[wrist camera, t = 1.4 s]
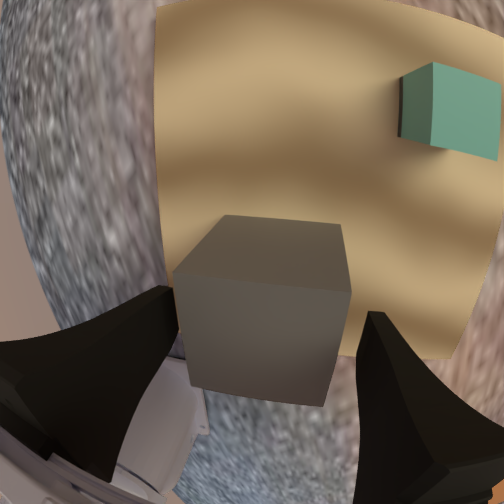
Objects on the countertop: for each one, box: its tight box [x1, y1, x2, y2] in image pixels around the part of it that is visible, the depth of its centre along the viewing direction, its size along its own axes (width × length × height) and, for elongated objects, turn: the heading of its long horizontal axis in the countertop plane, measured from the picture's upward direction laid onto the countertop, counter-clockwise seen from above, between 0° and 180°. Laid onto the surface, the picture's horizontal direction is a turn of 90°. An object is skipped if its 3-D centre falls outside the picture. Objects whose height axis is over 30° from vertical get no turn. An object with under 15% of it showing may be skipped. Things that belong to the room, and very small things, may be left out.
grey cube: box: [172, 215, 352, 407], centre depth 12 cm, size 5×5×6 cm
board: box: [154, 0, 504, 359], centre depth 13 cm, size 18×17×1 cm
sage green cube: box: [397, 62, 501, 161], centre depth 8 cm, size 3×3×4 cm
